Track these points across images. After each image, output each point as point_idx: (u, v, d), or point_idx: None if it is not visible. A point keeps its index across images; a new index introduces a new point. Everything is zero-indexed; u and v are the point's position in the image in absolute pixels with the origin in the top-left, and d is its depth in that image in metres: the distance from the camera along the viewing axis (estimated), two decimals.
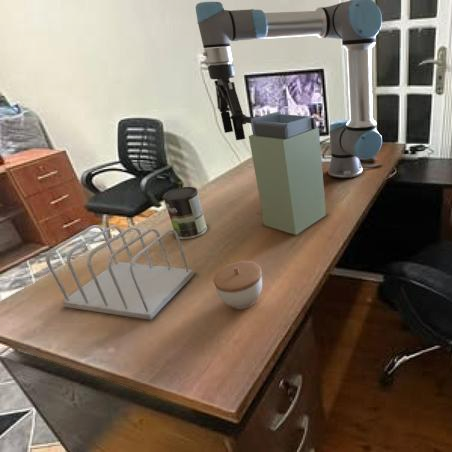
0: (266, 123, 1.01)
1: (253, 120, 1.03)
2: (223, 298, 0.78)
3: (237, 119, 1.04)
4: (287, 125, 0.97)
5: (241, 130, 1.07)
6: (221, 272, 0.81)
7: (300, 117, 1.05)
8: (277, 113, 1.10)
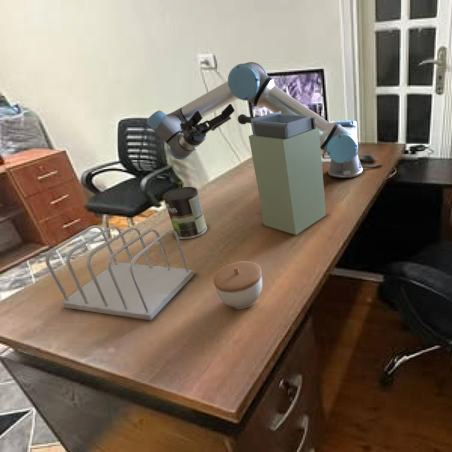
0: (266, 123, 1.01)
1: (253, 120, 1.03)
2: (223, 298, 0.78)
3: (188, 124, 1.18)
4: (287, 125, 0.97)
5: (194, 116, 1.17)
6: (221, 272, 0.81)
7: (300, 117, 1.05)
8: (277, 113, 1.10)
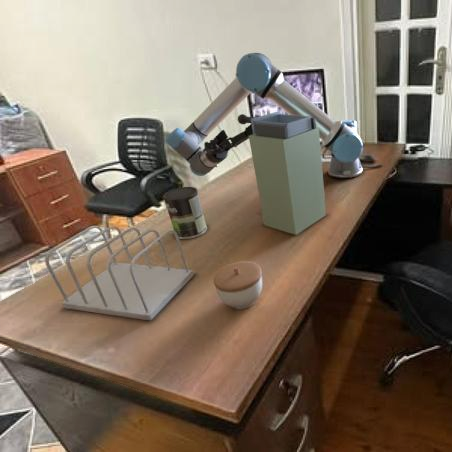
0: (266, 123, 1.01)
1: (253, 120, 1.03)
2: (223, 298, 0.78)
3: (213, 143, 1.15)
4: (287, 125, 0.97)
5: (219, 135, 1.13)
6: (221, 272, 0.81)
7: (300, 117, 1.05)
8: (277, 113, 1.10)
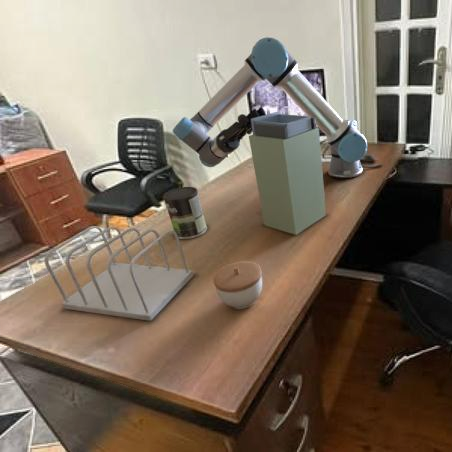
0: (266, 123, 1.01)
1: (253, 120, 1.03)
2: (223, 298, 0.78)
3: (243, 123, 1.10)
4: (287, 125, 0.97)
5: (250, 115, 1.08)
6: (221, 272, 0.81)
7: (300, 117, 1.05)
8: (277, 113, 1.10)
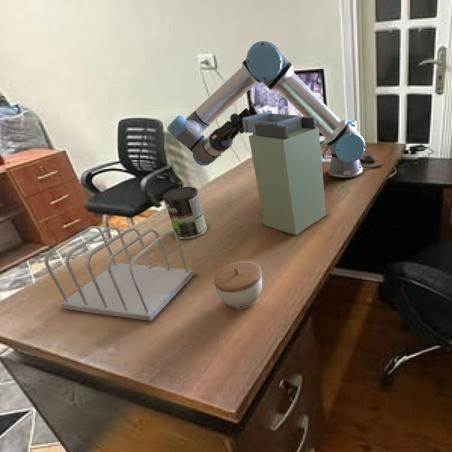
0: (257, 122, 1.03)
1: (244, 119, 1.05)
2: (223, 298, 0.78)
3: (235, 122, 1.12)
4: (277, 124, 0.99)
5: (242, 114, 1.10)
6: (221, 272, 0.81)
7: (291, 116, 1.07)
8: (268, 112, 1.12)
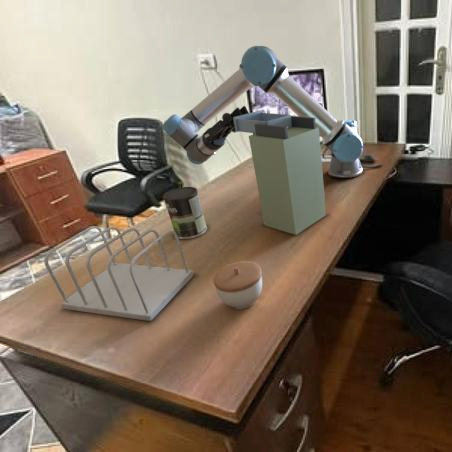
0: (247, 121, 1.05)
1: (235, 118, 1.07)
2: (223, 298, 0.78)
3: (227, 121, 1.14)
4: (267, 123, 1.01)
5: (233, 113, 1.13)
6: (221, 272, 0.81)
7: (281, 115, 1.10)
8: (260, 112, 1.14)
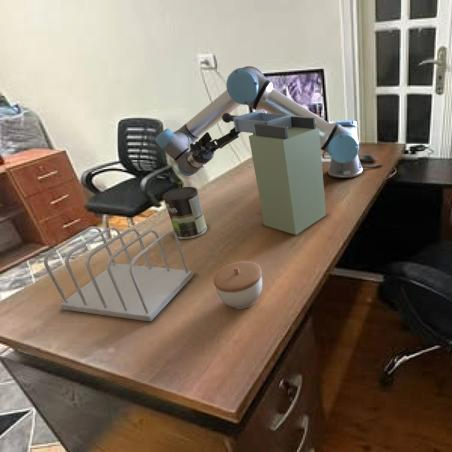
0: (247, 121, 1.05)
1: (235, 118, 1.07)
2: (223, 298, 0.78)
3: (198, 145, 1.20)
4: (267, 123, 1.01)
5: (204, 137, 1.18)
6: (221, 272, 0.81)
7: (281, 115, 1.10)
8: (259, 112, 1.14)
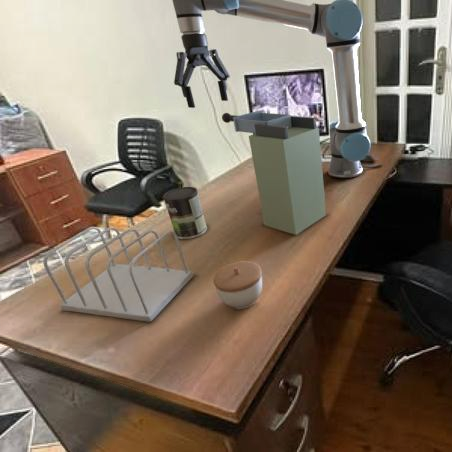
0: (247, 121, 1.05)
1: (235, 118, 1.07)
2: (223, 298, 0.78)
3: (182, 87, 1.12)
4: (267, 123, 1.01)
5: (189, 99, 1.14)
6: (221, 272, 0.81)
7: (281, 115, 1.10)
8: (259, 112, 1.14)
